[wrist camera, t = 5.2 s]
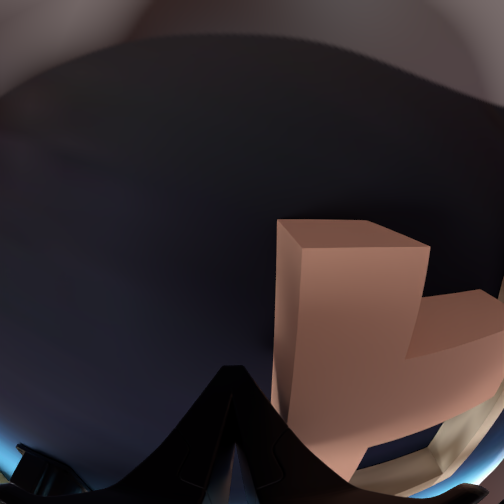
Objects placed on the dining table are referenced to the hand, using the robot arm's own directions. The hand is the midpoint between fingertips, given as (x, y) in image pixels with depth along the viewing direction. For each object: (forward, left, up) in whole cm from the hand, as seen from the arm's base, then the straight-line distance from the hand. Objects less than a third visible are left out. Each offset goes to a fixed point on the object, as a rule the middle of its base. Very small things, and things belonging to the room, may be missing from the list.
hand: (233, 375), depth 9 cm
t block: (0, -6, -1) cm, 6 cm away
